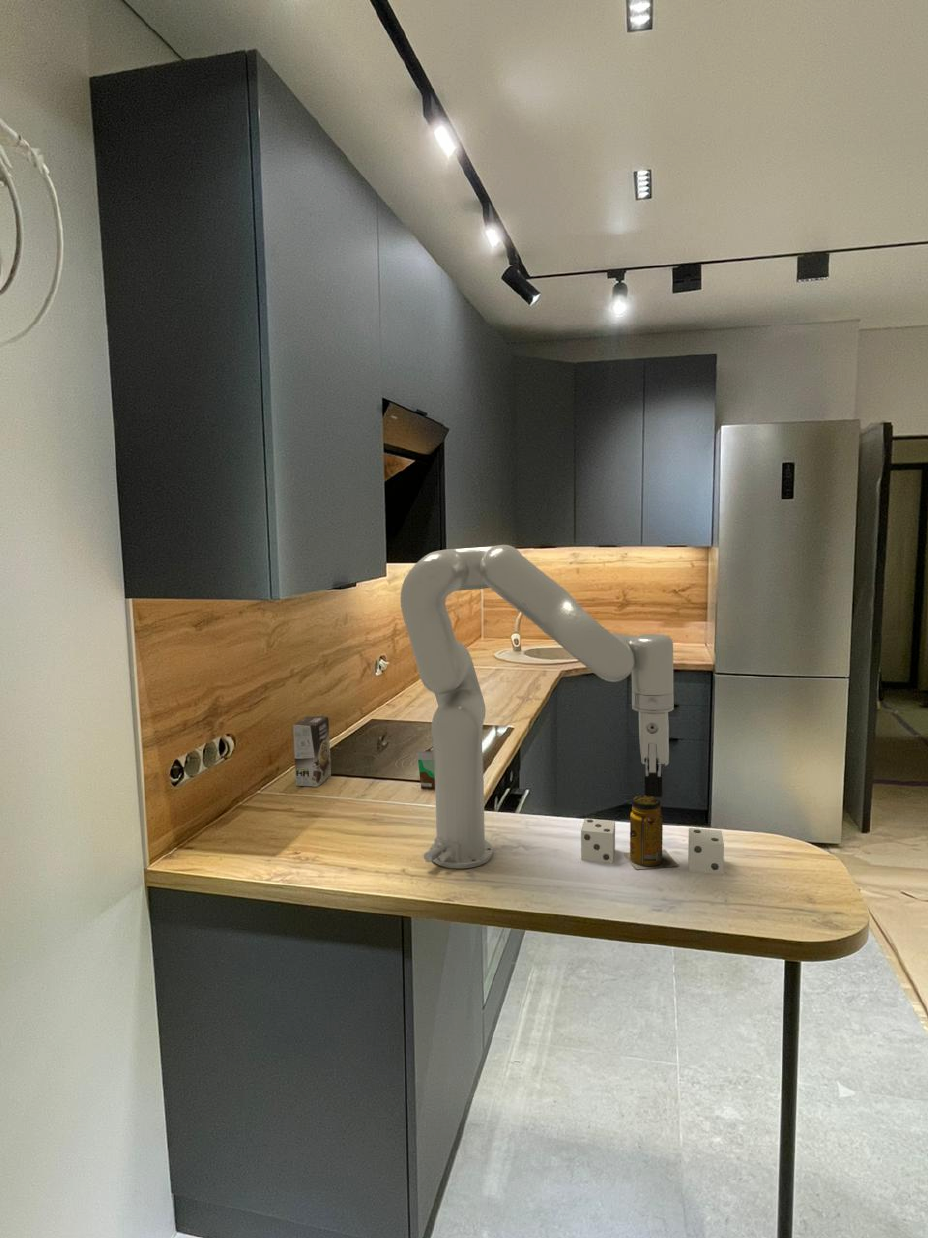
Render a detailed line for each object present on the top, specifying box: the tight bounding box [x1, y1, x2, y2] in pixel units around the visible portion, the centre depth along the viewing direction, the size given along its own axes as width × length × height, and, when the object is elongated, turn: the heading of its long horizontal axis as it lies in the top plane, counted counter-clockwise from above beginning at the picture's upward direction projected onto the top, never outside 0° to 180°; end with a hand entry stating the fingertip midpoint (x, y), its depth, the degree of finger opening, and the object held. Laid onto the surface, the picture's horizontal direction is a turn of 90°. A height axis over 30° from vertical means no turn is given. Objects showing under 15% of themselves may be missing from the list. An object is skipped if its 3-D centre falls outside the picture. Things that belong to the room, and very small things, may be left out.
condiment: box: [623, 795, 680, 870], centre depth 138 cm, size 7×8×12 cm
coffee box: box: [292, 715, 332, 788], centre depth 187 cm, size 9×6×16 cm
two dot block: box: [687, 827, 725, 876], centre depth 135 cm, size 6×6×6 cm
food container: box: [415, 746, 435, 791], centre depth 181 cm, size 12×6×10 cm, turn 143°
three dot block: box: [580, 817, 616, 864], centre depth 141 cm, size 6×6×6 cm
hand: (653, 795), depth 137 cm, fingers closed
